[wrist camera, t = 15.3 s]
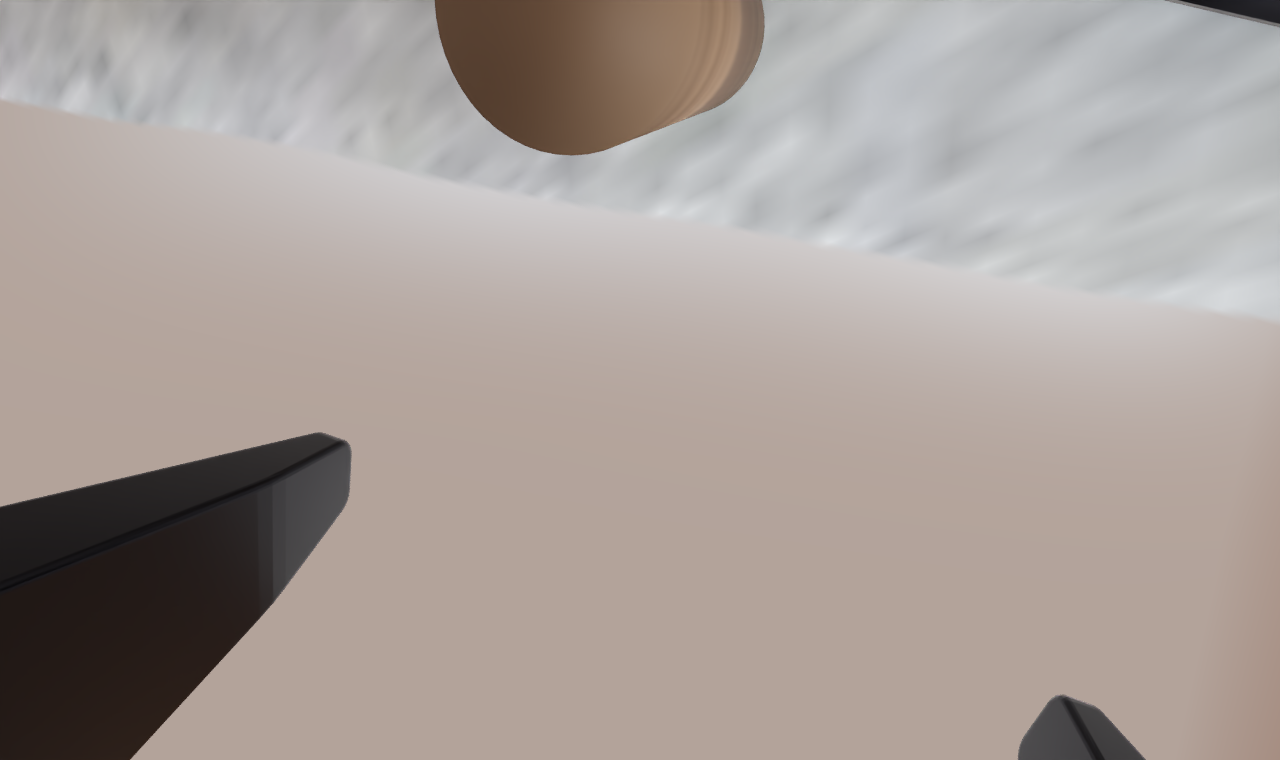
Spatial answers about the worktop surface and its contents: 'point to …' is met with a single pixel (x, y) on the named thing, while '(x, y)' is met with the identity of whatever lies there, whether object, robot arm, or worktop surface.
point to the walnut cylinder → (597, 64)
